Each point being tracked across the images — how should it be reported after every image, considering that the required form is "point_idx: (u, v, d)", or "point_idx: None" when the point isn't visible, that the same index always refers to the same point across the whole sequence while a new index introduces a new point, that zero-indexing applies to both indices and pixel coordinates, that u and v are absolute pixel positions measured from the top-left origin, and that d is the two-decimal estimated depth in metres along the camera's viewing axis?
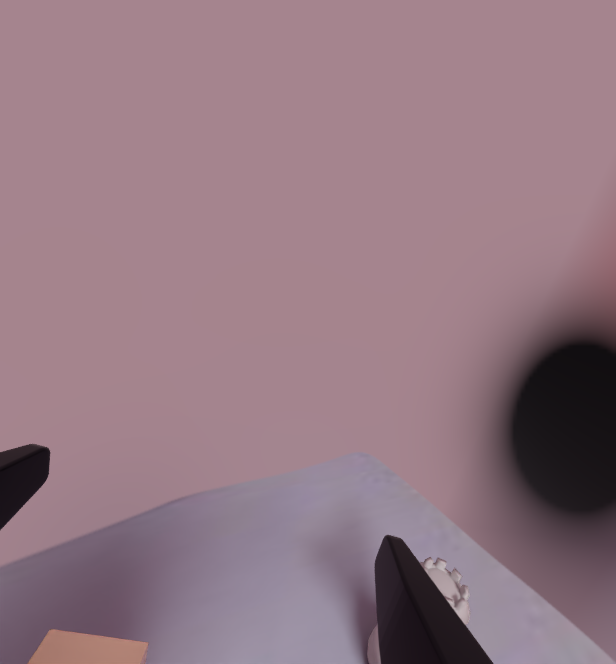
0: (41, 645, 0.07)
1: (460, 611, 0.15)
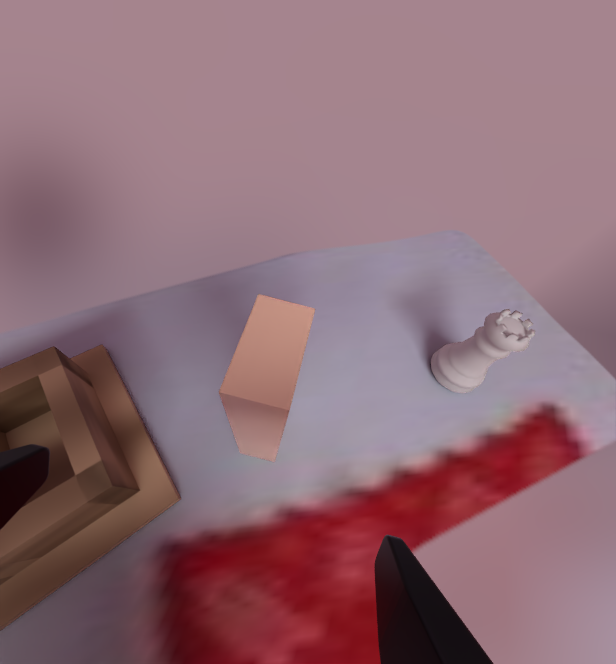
0: (256, 299, 0.12)
1: (520, 343, 0.19)
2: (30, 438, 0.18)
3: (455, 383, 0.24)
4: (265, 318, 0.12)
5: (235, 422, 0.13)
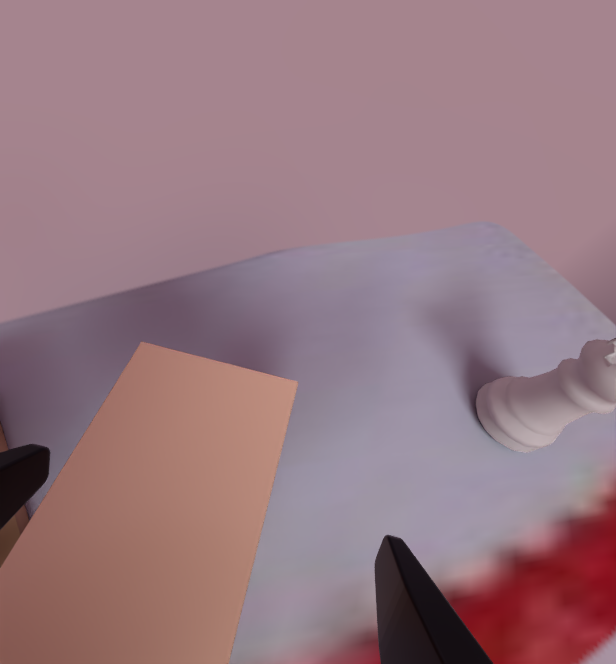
0: (133, 359, 0.04)
1: None
2: None
3: (518, 440, 0.16)
4: (145, 422, 0.04)
5: None
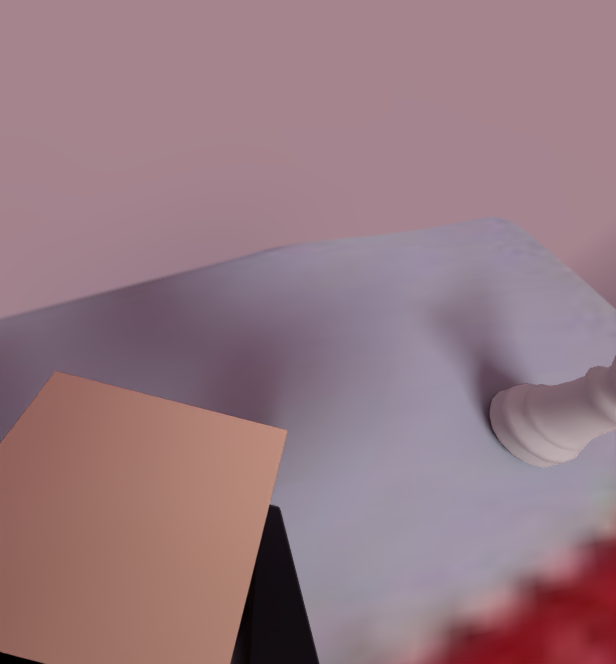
0: (39, 398, 0.03)
1: None
2: None
3: (538, 455, 0.15)
4: (39, 508, 0.02)
5: None
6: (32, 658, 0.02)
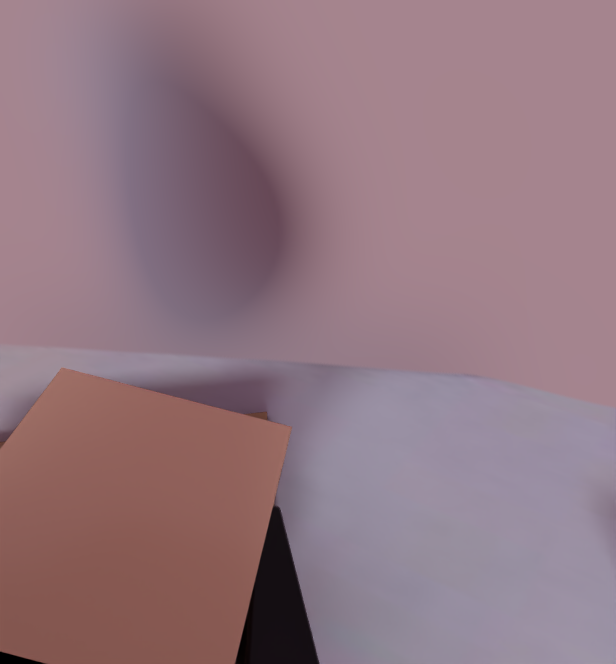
0: (46, 394, 0.03)
1: None
2: None
3: None
4: (47, 502, 0.02)
5: None
6: (42, 649, 0.02)
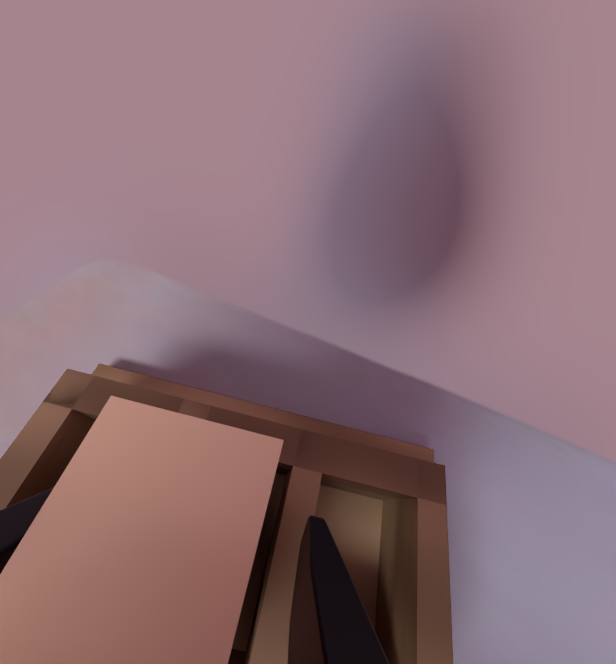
0: (100, 416, 0.04)
1: None
2: (324, 512, 0.14)
3: None
4: (109, 495, 0.03)
5: None
6: (113, 593, 0.03)
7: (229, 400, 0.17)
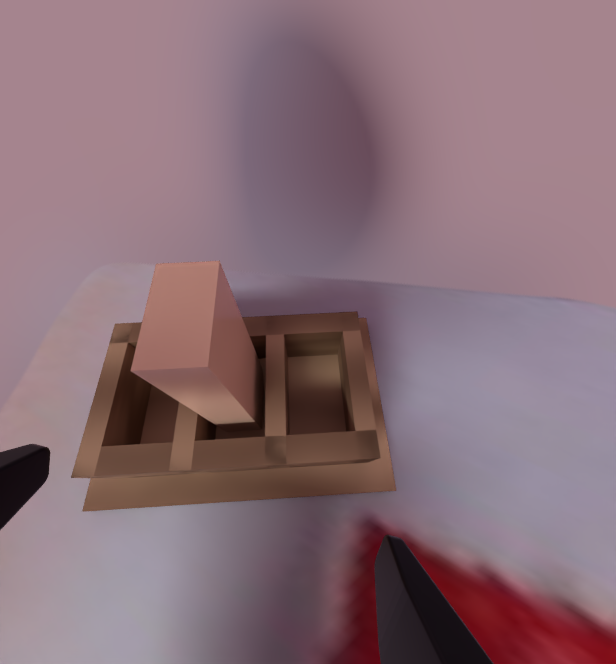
0: (155, 270, 0.11)
1: None
2: (301, 370, 0.23)
3: None
4: (167, 285, 0.11)
5: (183, 399, 0.13)
6: (178, 302, 0.11)
7: None
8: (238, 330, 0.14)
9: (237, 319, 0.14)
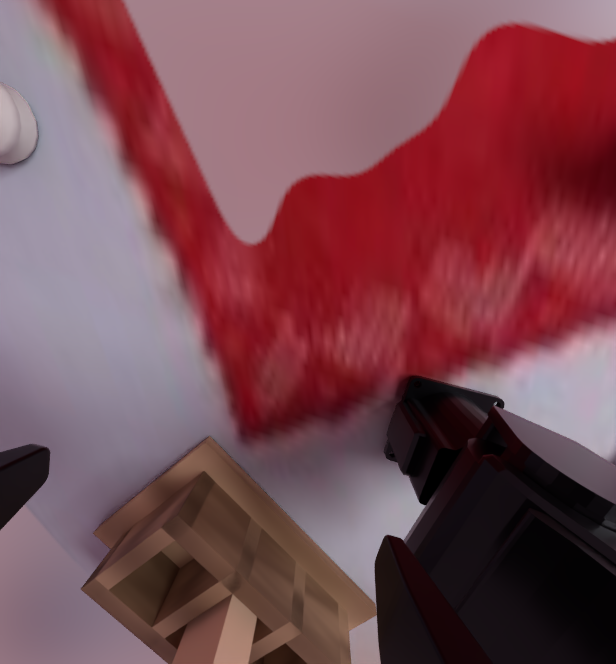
0: None
1: None
2: (180, 552, 0.23)
3: (14, 133, 0.17)
4: None
5: None
6: None
7: None
8: None
9: None
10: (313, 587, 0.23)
